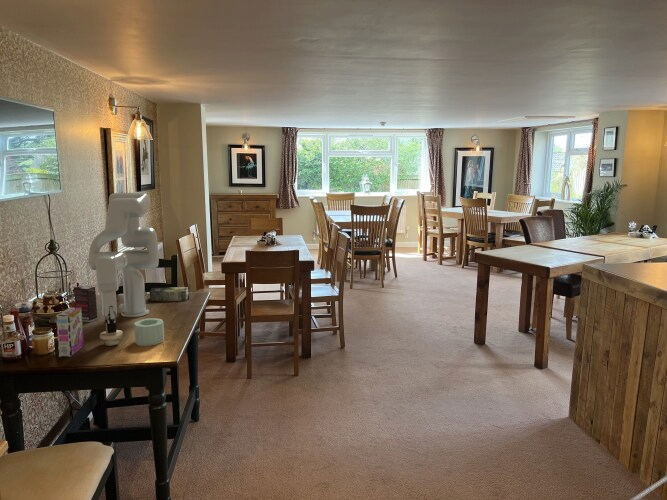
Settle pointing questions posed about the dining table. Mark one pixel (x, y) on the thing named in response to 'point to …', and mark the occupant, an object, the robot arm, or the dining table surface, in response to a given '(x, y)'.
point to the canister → (149, 331)
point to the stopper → (111, 337)
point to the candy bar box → (69, 332)
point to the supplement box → (86, 302)
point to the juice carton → (169, 294)
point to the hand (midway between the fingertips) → (111, 330)
